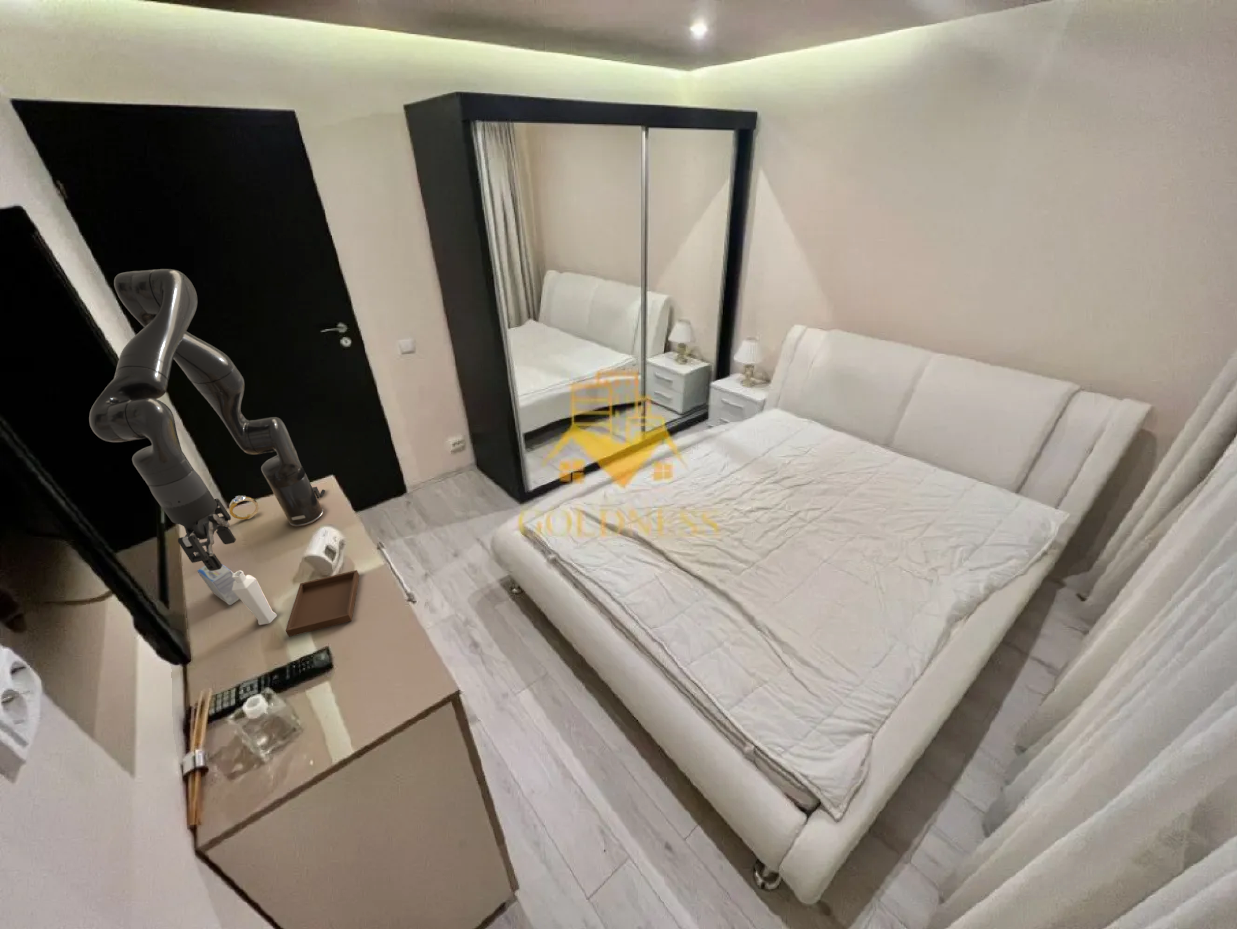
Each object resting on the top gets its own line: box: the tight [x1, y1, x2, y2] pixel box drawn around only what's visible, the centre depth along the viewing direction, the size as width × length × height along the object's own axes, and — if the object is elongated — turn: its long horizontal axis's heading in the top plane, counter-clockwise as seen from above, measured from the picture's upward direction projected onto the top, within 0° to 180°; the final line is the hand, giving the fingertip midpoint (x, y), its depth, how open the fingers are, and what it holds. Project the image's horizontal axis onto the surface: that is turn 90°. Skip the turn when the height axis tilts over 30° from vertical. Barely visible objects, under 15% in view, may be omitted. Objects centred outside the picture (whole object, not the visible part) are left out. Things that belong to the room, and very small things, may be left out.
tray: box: [284, 569, 360, 638], centre depth 116 cm, size 15×13×2 cm
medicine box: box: [196, 563, 240, 606], centre depth 118 cm, size 8×4×9 cm, turn 59°
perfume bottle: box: [232, 569, 278, 626], centre depth 110 cm, size 5×4×15 cm
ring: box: [228, 494, 259, 520], centre depth 144 cm, size 7×3×8 cm, turn 125°
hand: (223, 555), depth 102 cm, fingers open, 8 cm apart
